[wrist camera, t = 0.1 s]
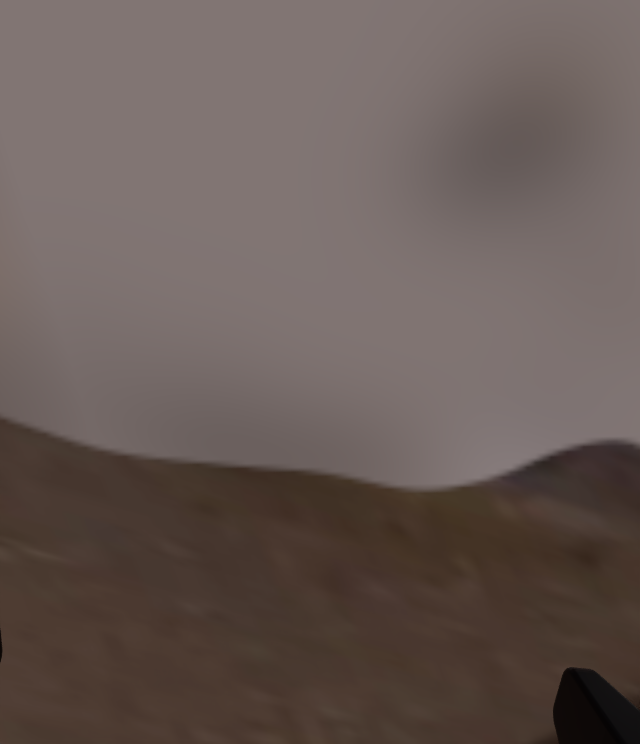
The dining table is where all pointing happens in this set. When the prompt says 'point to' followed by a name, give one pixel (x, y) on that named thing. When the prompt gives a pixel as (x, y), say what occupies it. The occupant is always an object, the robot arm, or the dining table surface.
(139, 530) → the dining table surface
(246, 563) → the dining table surface
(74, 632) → the dining table surface
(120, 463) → the dining table surface
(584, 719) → the robot arm
